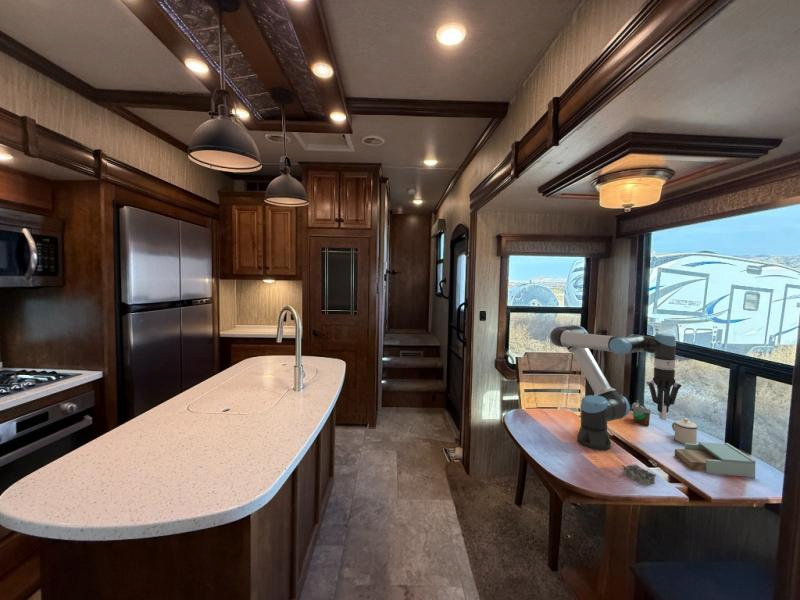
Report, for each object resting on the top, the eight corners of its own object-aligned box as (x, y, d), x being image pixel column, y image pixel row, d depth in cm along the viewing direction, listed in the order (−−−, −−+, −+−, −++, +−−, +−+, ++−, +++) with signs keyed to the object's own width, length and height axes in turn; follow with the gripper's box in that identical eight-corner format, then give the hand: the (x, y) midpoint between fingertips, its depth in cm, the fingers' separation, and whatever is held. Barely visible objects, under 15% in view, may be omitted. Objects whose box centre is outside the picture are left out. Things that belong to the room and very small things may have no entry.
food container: (627, 418, 204) (627, 401, 203) (638, 418, 203) (638, 402, 203) (638, 426, 192) (638, 409, 191) (650, 427, 191) (650, 409, 190)
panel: (690, 470, 148) (691, 461, 147) (674, 456, 159) (674, 448, 159) (739, 474, 144) (740, 465, 144) (719, 460, 156) (719, 451, 155)
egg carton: (620, 473, 146) (620, 464, 146) (632, 470, 148) (633, 461, 148) (644, 487, 136) (645, 477, 135) (658, 483, 138) (658, 473, 138)
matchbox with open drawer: (707, 472, 145) (707, 456, 145) (684, 454, 160) (684, 439, 160) (754, 477, 141) (755, 460, 141) (727, 457, 157) (727, 443, 156)
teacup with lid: (702, 444, 170) (702, 421, 169) (685, 445, 169) (686, 422, 168) (679, 434, 182) (680, 412, 181) (664, 435, 181) (664, 413, 180)
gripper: (652, 369, 151) (650, 421, 153) (685, 370, 148) (684, 423, 150) (644, 365, 159) (642, 414, 160) (676, 366, 156) (674, 416, 157)
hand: (662, 418), depth 155 cm, fingers closed
